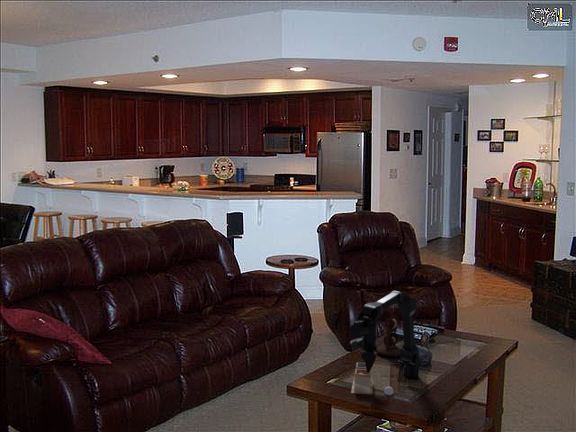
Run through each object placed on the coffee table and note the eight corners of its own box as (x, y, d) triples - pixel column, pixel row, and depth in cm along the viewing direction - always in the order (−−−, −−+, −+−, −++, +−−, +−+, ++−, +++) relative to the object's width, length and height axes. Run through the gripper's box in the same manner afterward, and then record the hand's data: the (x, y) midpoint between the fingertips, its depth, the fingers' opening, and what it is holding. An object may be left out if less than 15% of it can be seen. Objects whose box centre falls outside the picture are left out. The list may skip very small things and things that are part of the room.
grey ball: (393, 394, 283) (393, 385, 282) (393, 397, 279) (393, 388, 278) (383, 393, 283) (384, 384, 283) (383, 396, 279) (384, 387, 279)
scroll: (382, 348, 348) (384, 311, 346) (408, 353, 341) (410, 316, 339) (371, 355, 336) (373, 317, 334) (398, 360, 328) (400, 322, 326)
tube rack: (353, 379, 299) (354, 361, 298) (373, 381, 297) (374, 363, 296) (351, 394, 281) (351, 374, 280) (371, 396, 280) (372, 376, 279)
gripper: (353, 326, 292) (352, 360, 294) (349, 338, 274) (348, 374, 275) (378, 328, 290) (376, 362, 292) (376, 340, 272) (375, 376, 273)
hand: (368, 368), depth 283 cm, fingers open, 9 cm apart
